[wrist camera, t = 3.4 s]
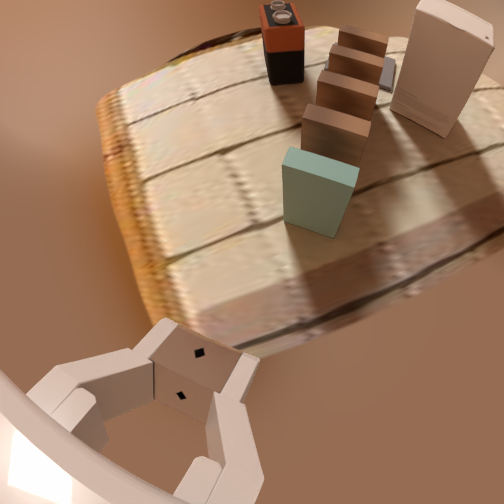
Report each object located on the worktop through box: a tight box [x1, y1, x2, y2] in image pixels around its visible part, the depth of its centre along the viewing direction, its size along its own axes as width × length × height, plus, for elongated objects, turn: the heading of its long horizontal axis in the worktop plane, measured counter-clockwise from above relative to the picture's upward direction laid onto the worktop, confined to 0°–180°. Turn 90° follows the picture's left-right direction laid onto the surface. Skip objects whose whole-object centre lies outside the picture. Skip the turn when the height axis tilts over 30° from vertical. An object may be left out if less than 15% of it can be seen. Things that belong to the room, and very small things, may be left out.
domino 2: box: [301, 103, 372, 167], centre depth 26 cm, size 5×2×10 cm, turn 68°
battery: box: [259, 1, 305, 85], centre depth 31 cm, size 4×7×10 cm, turn 5°
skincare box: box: [390, 0, 495, 138], centre depth 25 cm, size 8×7×16 cm
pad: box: [324, 42, 395, 91], centre depth 35 cm, size 9×7×1 cm
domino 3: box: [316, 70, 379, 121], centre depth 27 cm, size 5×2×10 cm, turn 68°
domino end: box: [282, 146, 360, 238], centre depth 25 cm, size 5×2×10 cm, turn 68°
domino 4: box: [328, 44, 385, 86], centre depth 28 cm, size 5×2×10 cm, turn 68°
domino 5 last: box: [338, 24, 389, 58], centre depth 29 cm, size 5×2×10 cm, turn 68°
